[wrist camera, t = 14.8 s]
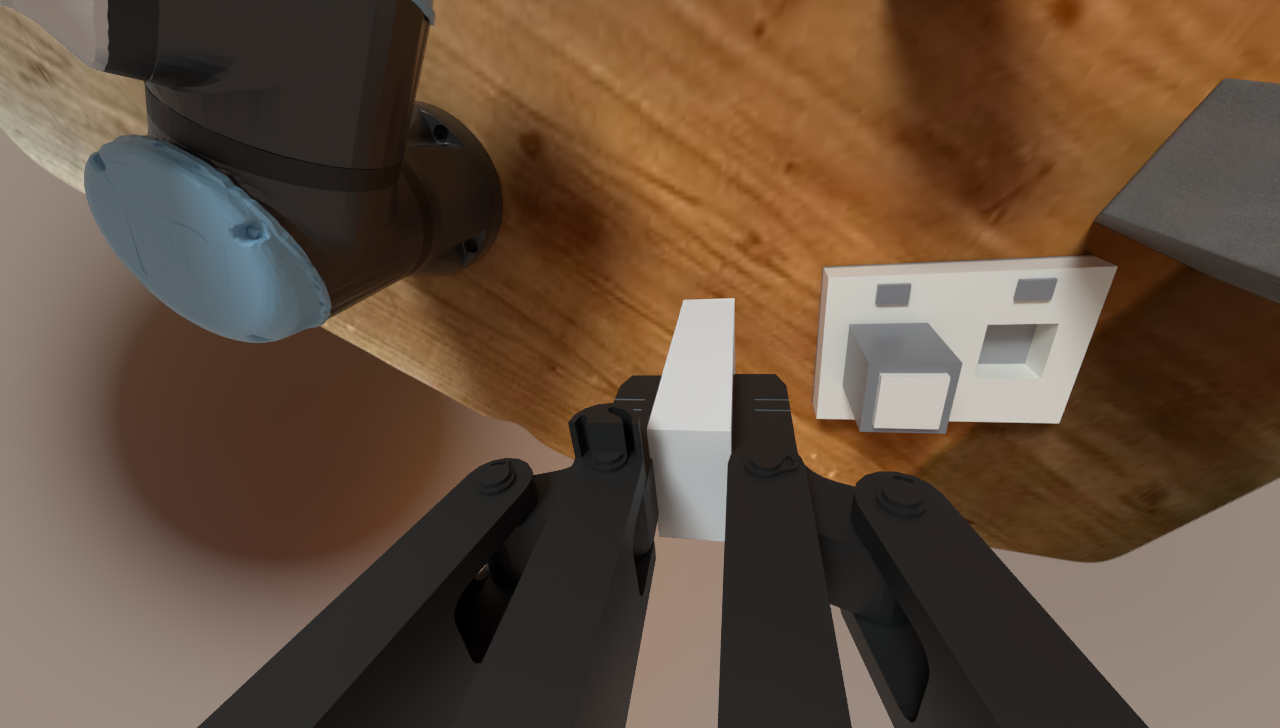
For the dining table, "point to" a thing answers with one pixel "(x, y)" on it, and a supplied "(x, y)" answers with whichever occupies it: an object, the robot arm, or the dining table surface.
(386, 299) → the dining table surface
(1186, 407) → the dining table surface
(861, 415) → the plug
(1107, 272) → the socket plate
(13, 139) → the dining table surface
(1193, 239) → the grey hexagonal prism
